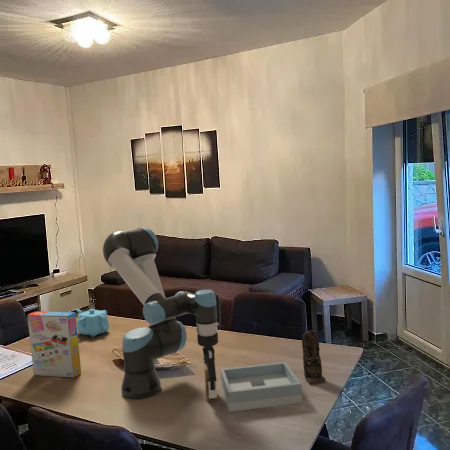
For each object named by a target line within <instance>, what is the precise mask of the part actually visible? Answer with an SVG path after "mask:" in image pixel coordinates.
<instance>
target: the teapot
mask: <svg viewBox="0 0 450 450" xmlns="http://www.w3.org/2000/svg"><path fill="white" fill-rule="evenodd" d="M75 310H76V311H77V313H78V315H77V319H76V324H77V333H78V334H82V336H90V337H91V338H94V337H96V336H97V335H100V334H104V333H105V332H107V331H109V328H110V323H109V317H108V311H107V310H105V309H103V310H100V309H99V310H98V309H95V308H90V309H88V310H86V311H82V310H81V309H79V308H77V309H75Z"/></svg>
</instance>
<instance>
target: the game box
mask: <svg viewBox="0 0 450 450" xmlns="http://www.w3.org/2000/svg"><path fill="white" fill-rule="evenodd" d="M76 315H77V314H76V311H75V312H74V311H71V312H70V311H33V312H30V313H29V314H27V315H26V316H27V324H28V325H27V326H28V333H29V334H28V335H29V342H30V343H29V344H30V352H31V360H32V370H33V376H44V377H56V378H57V377H58V378H73V379H74V378H76V377H78V376H79V375H80V374H81V373H82V367H81V356H80V346H79V337H78V335H79V333H78V329H77V317H76Z"/></svg>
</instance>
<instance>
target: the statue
mask: <svg viewBox="0 0 450 450" xmlns="http://www.w3.org/2000/svg"><path fill="white" fill-rule="evenodd" d="M301 345H302V361H303V363H302V364H303V373H304V375H303V376H304V379H305V380H306V382H307V383H308V385H318V384H321V383H325V382H326V378H325V377H324V376H323V368H322V367H323V366H322V365H323V364H322V358H321V356H320V350H321V349H320V341H319V335H318V333H317V331H315V330H308V331H306V332H304V334H303V335H302V337H301Z"/></svg>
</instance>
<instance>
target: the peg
mask: <svg viewBox="0 0 450 450" xmlns="http://www.w3.org/2000/svg"><path fill="white" fill-rule="evenodd" d="M203 368H204V383H205V384H204V386H205V398H206V402H216V401H218V400H217V399H218V397H217V398H209V387H208V382H207V379H209V378H208V370H207V366H204V367H203Z"/></svg>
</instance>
